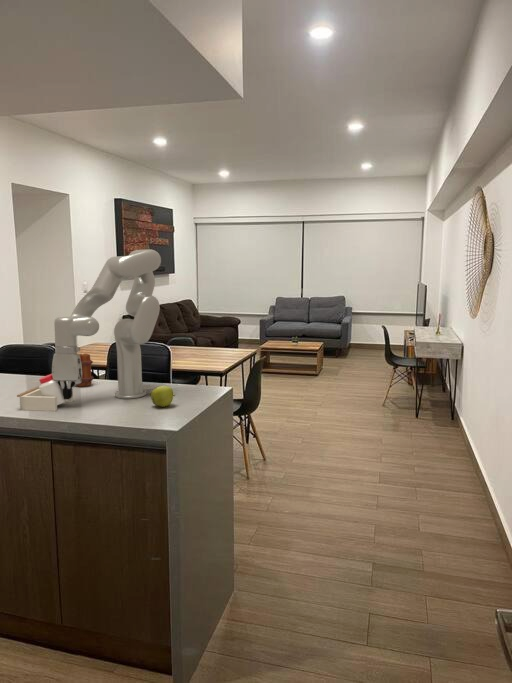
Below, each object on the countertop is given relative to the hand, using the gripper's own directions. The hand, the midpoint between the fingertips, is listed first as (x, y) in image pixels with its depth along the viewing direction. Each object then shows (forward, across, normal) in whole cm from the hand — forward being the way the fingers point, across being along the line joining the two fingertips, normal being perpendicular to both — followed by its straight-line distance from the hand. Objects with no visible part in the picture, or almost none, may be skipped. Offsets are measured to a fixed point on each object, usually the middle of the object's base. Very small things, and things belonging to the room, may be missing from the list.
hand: (67, 398), depth 191 cm
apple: (+3, -36, -3) cm, 36 cm away
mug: (+3, +10, -37) cm, 38 cm away
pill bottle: (+2, +4, -1) cm, 5 cm away
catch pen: (+3, +9, -2) cm, 10 cm away
